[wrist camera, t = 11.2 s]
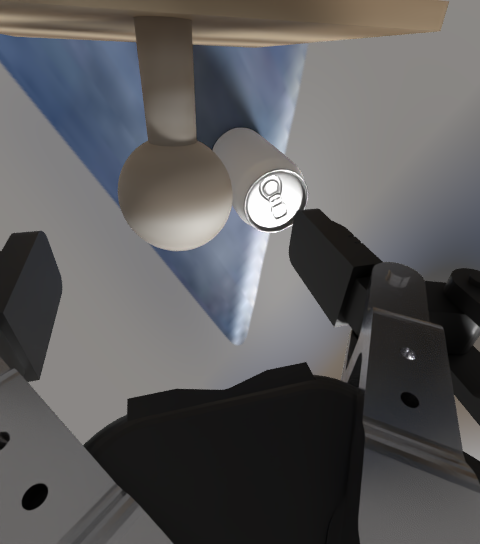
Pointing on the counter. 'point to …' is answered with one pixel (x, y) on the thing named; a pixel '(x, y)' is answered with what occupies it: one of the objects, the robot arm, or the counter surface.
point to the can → (261, 180)
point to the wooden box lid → (180, 84)
